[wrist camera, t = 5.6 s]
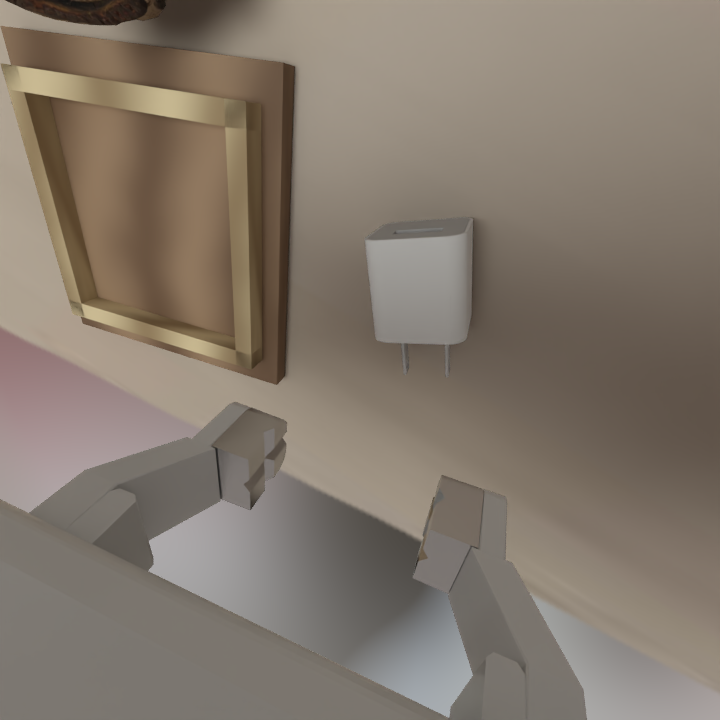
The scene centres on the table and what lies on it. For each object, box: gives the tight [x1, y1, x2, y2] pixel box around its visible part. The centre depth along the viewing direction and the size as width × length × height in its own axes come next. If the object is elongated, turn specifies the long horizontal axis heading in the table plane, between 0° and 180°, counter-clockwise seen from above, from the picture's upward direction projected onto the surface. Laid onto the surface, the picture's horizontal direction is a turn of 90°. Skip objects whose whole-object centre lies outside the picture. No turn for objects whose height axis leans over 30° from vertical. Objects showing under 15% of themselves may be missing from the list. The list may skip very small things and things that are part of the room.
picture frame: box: [1, 26, 295, 385], centre depth 21 cm, size 15×16×2 cm
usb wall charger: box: [365, 217, 473, 377], centre depth 18 cm, size 4×7×4 cm, turn 7°
